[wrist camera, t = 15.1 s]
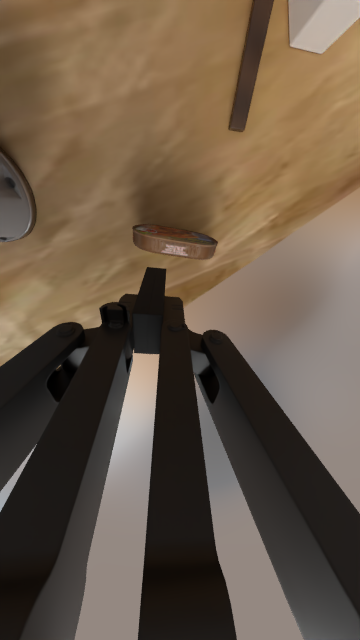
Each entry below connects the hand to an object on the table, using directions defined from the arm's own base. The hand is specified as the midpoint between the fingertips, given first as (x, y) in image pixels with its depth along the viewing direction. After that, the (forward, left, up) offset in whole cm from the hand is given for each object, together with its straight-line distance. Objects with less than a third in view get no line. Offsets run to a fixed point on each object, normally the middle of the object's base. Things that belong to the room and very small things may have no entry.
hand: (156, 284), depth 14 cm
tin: (+2, +1, -24) cm, 24 cm away
